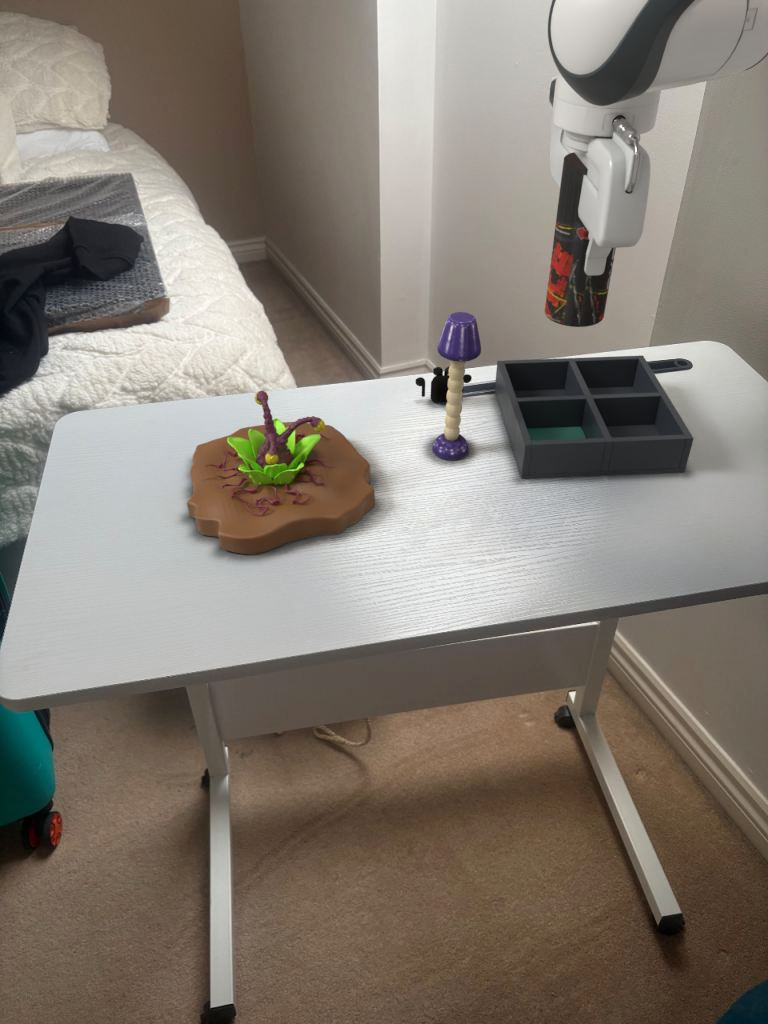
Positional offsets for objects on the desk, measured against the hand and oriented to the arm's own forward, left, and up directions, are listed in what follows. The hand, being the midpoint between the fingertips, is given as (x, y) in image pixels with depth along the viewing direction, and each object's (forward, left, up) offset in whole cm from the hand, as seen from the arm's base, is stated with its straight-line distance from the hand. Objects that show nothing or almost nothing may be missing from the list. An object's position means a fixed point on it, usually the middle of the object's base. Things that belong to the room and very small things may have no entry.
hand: (582, 257), depth 81 cm
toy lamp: (+11, -2, -24) cm, 26 cm away
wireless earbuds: (+11, -12, -24) cm, 29 cm away
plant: (+31, +4, -24) cm, 40 cm away
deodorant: (0, 0, -6) cm, 6 cm away
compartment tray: (-5, -5, -23) cm, 24 cm away
